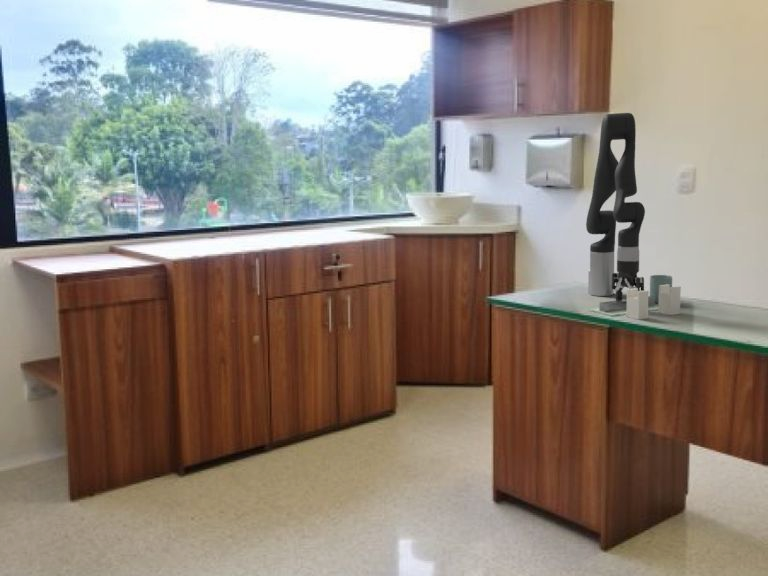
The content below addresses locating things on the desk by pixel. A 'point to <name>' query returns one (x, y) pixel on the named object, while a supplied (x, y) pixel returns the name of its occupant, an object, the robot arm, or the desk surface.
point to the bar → (619, 305)
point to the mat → (620, 311)
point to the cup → (654, 285)
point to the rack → (639, 302)
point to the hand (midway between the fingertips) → (627, 303)
